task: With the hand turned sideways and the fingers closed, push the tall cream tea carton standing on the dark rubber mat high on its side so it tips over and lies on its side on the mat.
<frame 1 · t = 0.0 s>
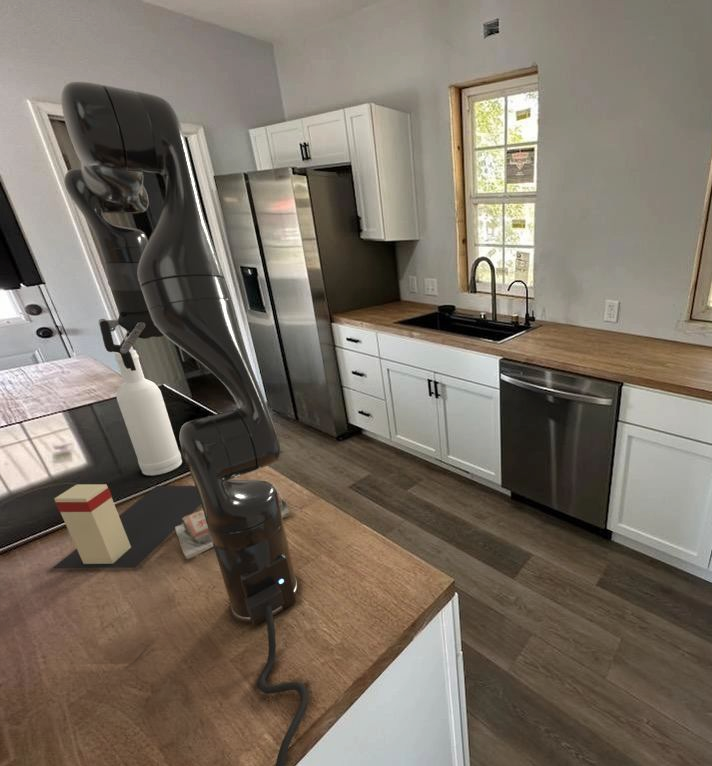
hand: (160, 365, 85), 29 cm above the worktop, tool pointing down, fingers open, 8 cm apart
bottle: (162, 467, 102), on the worktop
mat: (148, 522, 83), on the worktop
packaged product: (236, 525, 83), on the worktop
tea carton: (108, 555, 74), resting on mat
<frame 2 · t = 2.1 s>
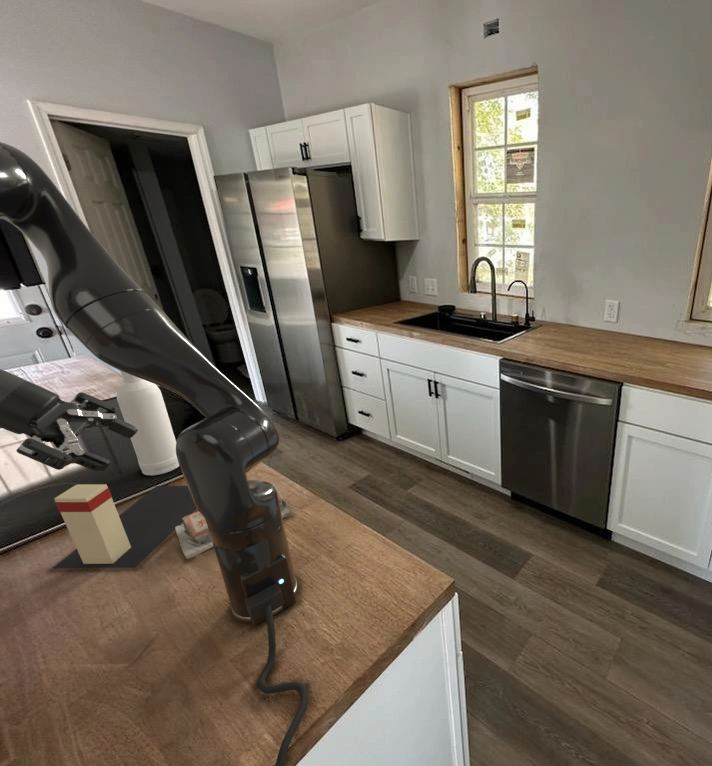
hand: (121, 449, 73), 19 cm above the worktop, tool tilted 45°, fingers open, 8 cm apart
nothing on the worktop moved.
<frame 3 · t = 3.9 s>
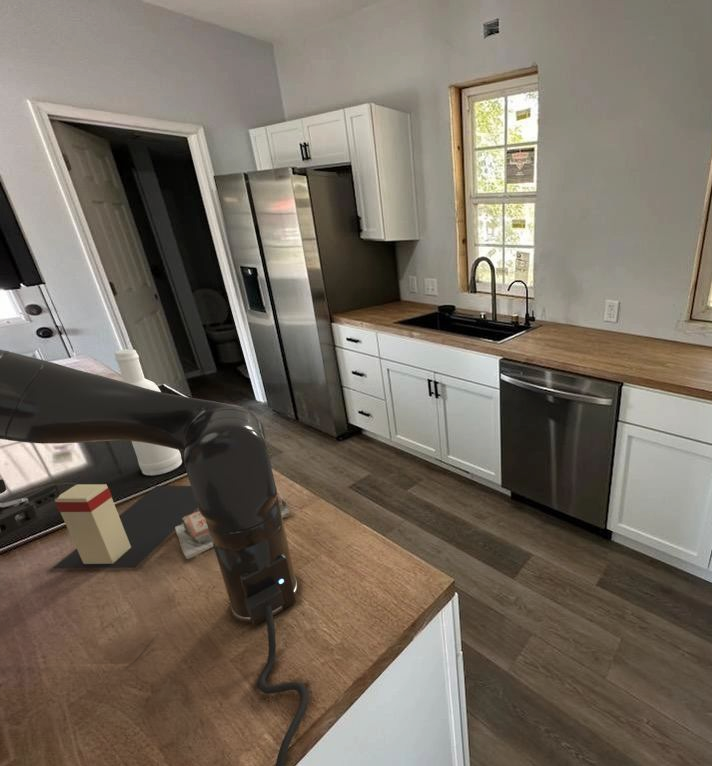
hand: (29, 486, 61), 20 cm above the worktop, tool horizontal, fingers open, 8 cm apart
nothing on the worktop moved.
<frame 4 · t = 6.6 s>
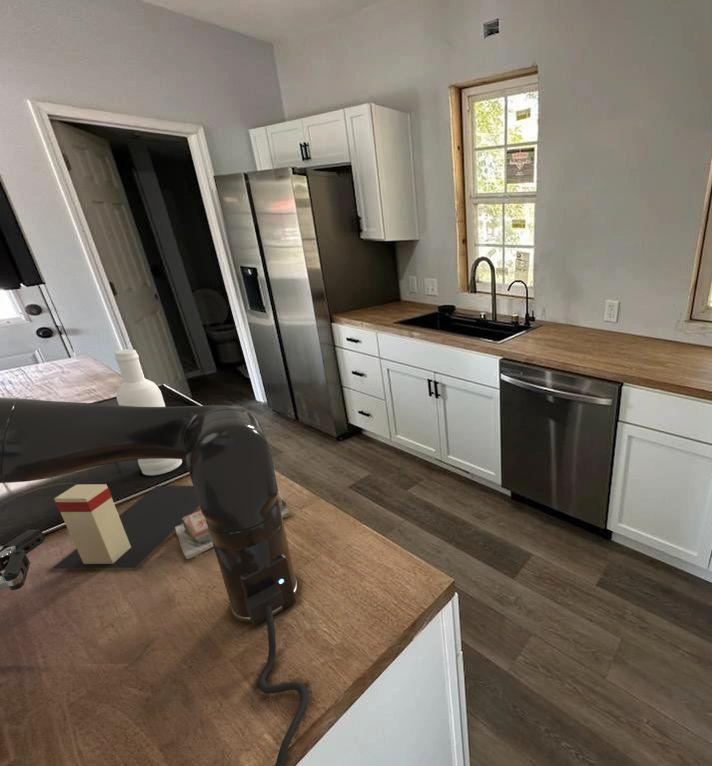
hand: (37, 534, 63), 12 cm above the worktop, tool horizontal, fingers closed
nothing on the worktop moved.
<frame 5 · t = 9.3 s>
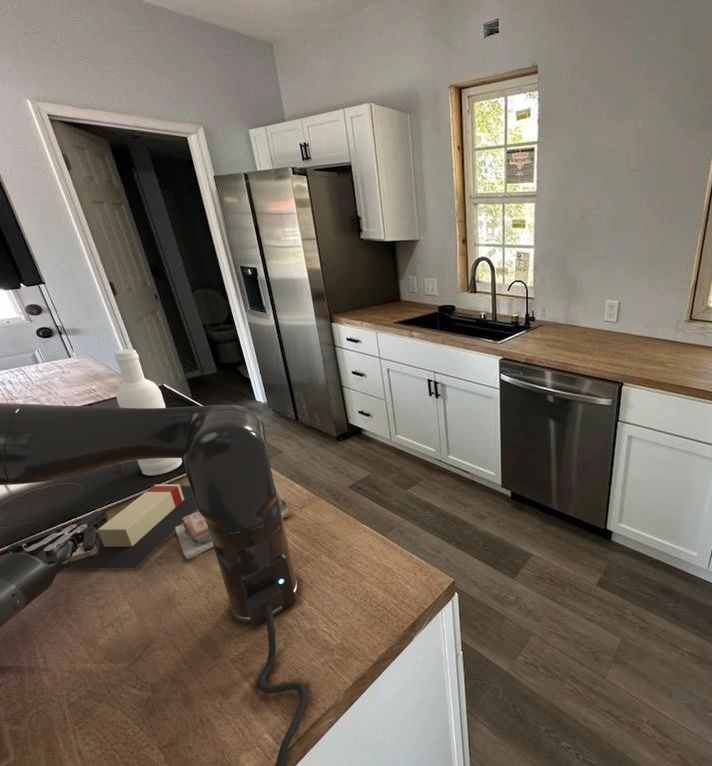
hand: (102, 515, 73), 8 cm above the worktop, tool horizontal, fingers closed
tea carton: (114, 538, 76), point 2 cm above the worktop, tilted 90°, touching mat
everything else where it was.
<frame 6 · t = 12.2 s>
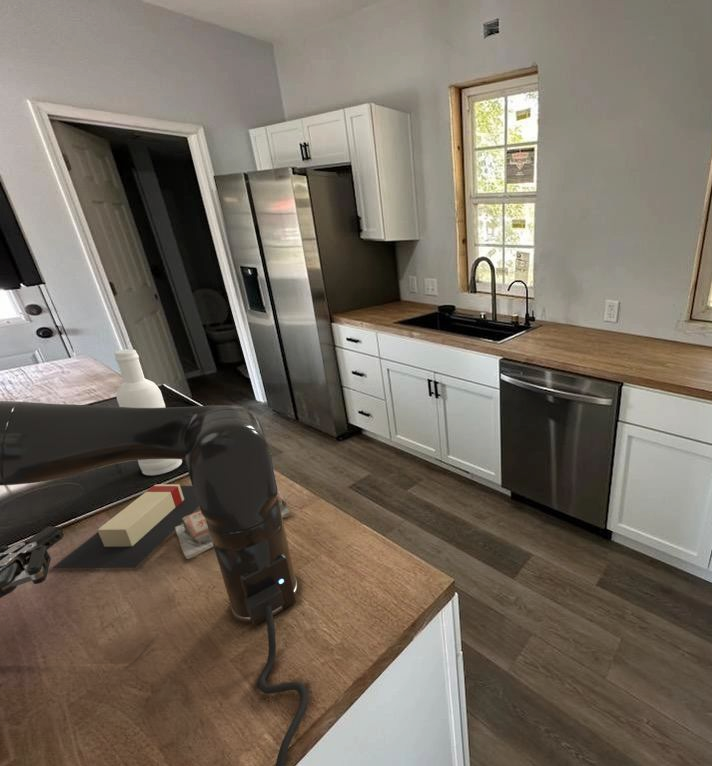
hand: (56, 531, 66), 11 cm above the worktop, tool horizontal, fingers closed
nothing on the worktop moved.
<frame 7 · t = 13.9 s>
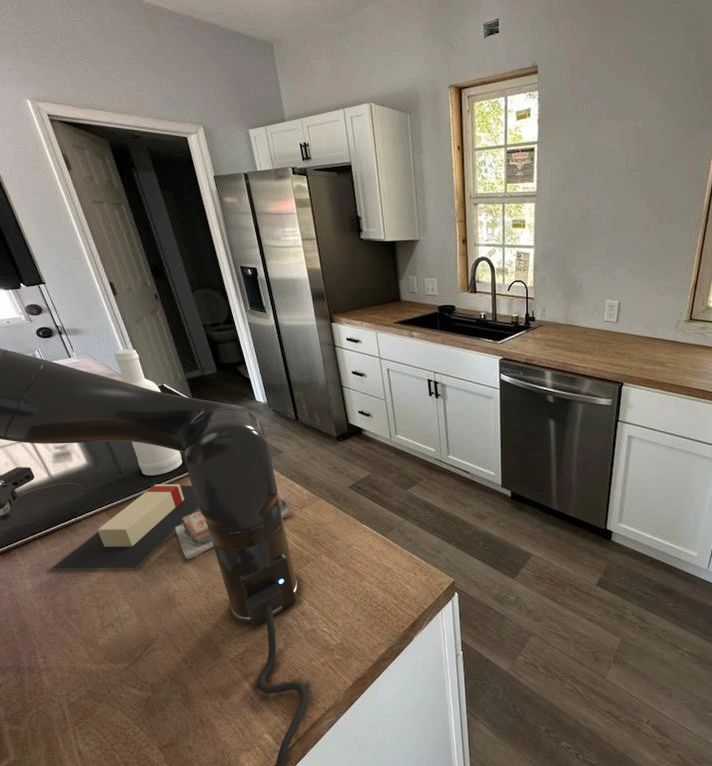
hand: (27, 472, 61), 22 cm above the worktop, tool horizontal, fingers closed
nothing on the worktop moved.
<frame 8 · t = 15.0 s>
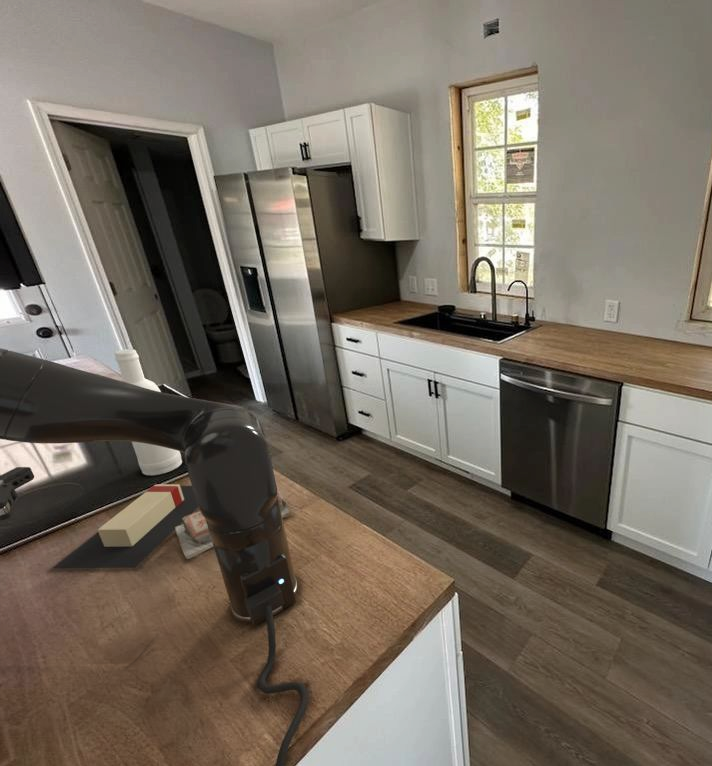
hand: (27, 472, 61), 22 cm above the worktop, tool horizontal, fingers closed
nothing on the worktop moved.
at the end: tea carton tilted 90°; tea carton inside the target area on the mat (0.0 cm from its centre), point 2.4 cm above the mat's base; tea carton touching mat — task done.
